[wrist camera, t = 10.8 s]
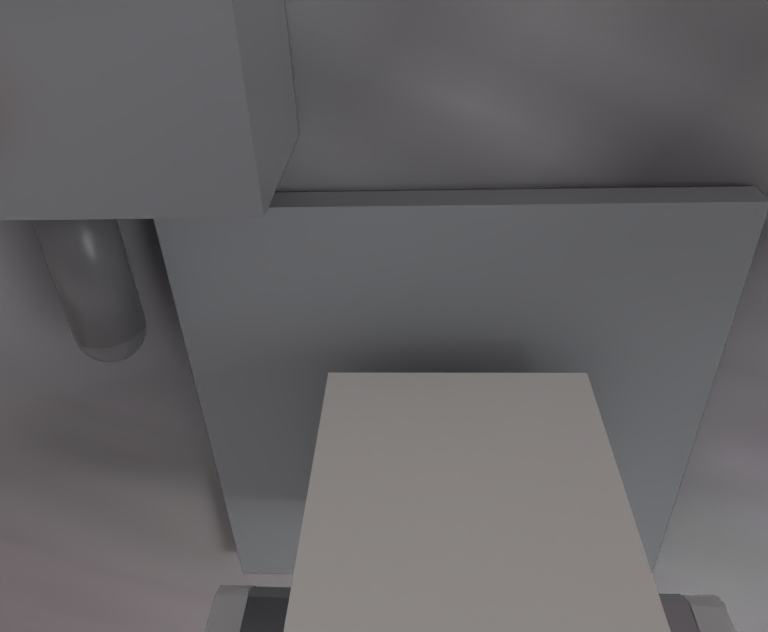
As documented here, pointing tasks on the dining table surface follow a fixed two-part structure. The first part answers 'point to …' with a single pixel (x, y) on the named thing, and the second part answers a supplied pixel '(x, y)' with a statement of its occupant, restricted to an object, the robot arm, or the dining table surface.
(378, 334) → the mat
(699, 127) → the dining table surface
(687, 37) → the dining table surface
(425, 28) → the dining table surface
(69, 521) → the dining table surface
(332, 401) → the block
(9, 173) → the power strip
